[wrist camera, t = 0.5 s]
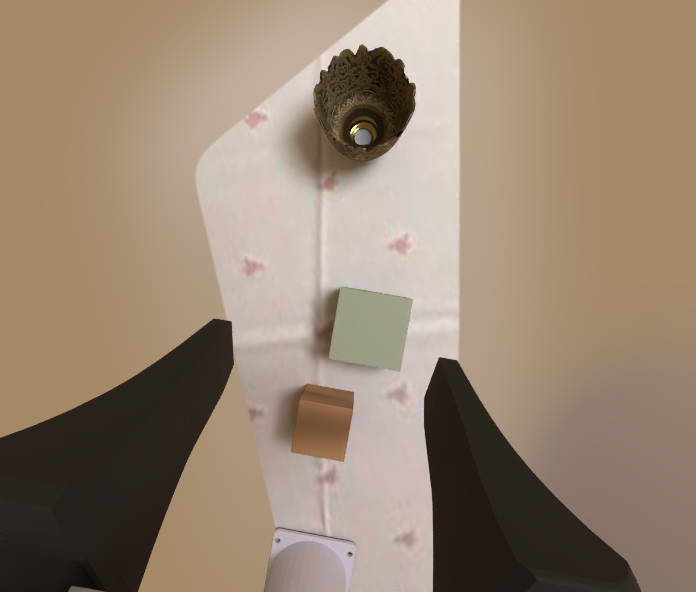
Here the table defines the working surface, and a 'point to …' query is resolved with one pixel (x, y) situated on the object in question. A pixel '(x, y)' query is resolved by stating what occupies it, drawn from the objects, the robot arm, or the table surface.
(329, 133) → the cup
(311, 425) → the walnut block
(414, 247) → the table surface
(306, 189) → the table surface
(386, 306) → the grey block
